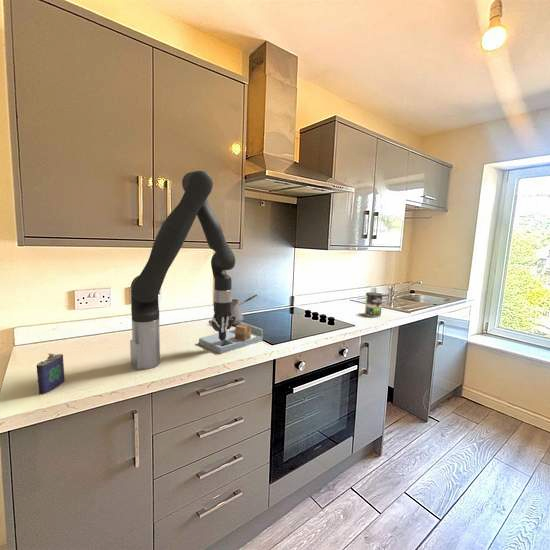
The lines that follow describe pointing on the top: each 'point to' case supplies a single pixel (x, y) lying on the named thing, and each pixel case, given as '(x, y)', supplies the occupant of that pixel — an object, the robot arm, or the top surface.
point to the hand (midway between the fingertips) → (222, 339)
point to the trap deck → (230, 340)
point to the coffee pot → (238, 310)
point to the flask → (50, 373)
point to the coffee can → (373, 304)
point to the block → (243, 332)
